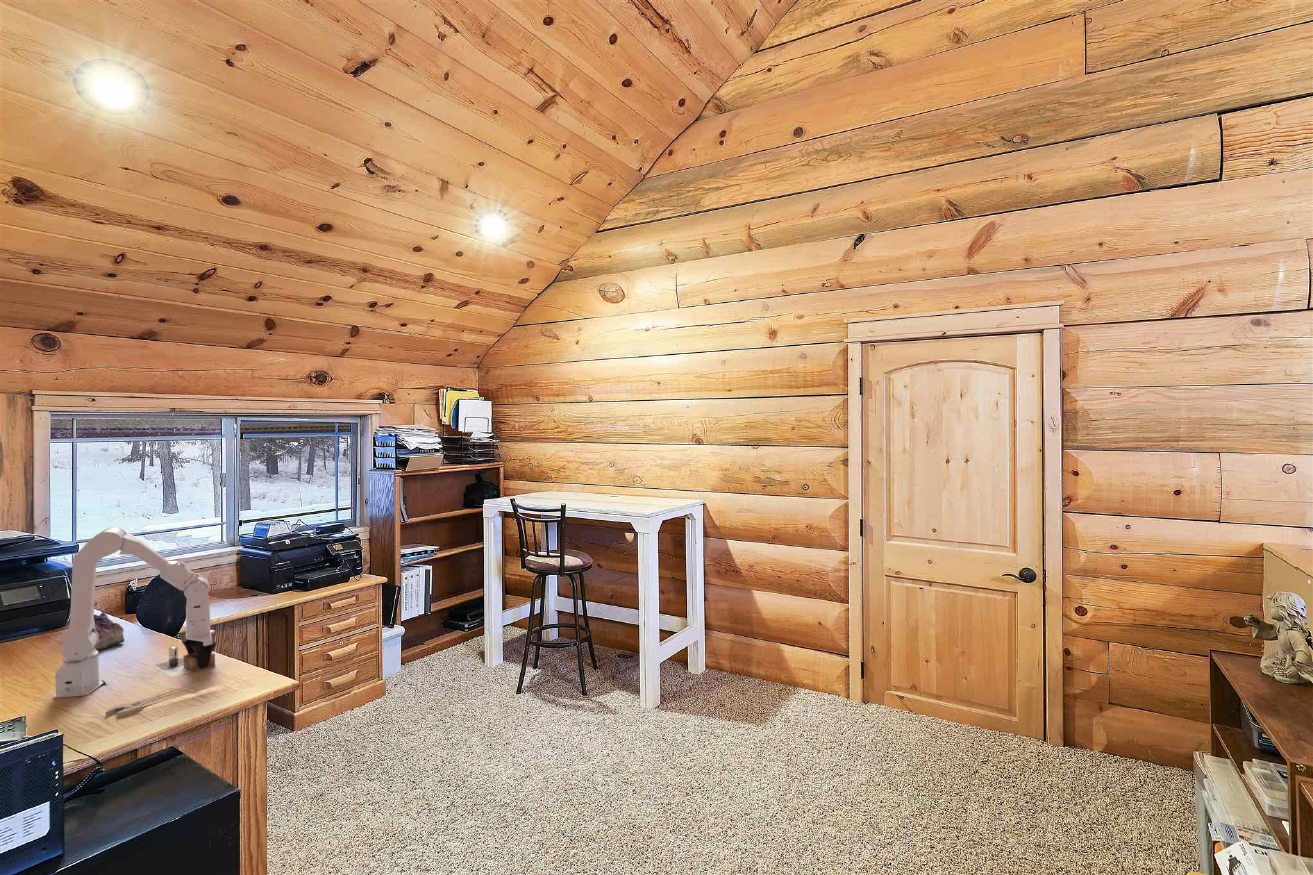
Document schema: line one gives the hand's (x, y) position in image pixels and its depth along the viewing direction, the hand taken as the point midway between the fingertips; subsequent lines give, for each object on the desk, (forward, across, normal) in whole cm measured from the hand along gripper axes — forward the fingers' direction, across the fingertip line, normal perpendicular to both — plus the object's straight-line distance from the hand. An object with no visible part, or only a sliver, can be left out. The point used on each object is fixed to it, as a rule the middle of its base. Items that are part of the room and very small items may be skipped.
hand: (199, 664), depth 192 cm
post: (+1, +8, +4) cm, 9 cm away
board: (+1, +4, +2) cm, 5 cm away
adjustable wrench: (+2, -17, +13) cm, 21 cm away
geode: (+2, +53, +12) cm, 54 cm away
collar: (0, 0, 0) cm, 0 cm away
